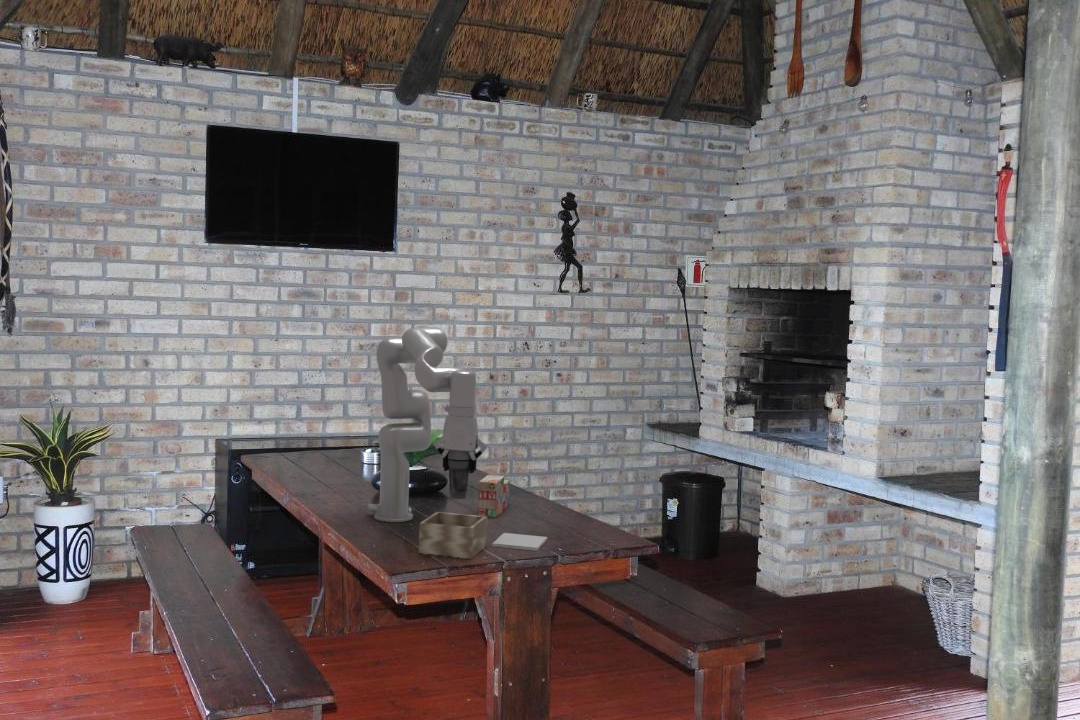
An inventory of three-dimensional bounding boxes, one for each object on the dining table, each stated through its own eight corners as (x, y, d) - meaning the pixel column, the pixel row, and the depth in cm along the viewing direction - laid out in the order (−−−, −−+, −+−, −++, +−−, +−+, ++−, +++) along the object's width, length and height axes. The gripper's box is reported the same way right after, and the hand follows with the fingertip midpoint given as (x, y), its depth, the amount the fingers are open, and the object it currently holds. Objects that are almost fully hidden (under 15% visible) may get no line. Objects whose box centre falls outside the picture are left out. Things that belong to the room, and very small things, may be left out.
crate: (418, 553, 316) (419, 523, 315) (435, 540, 331) (436, 511, 331) (471, 558, 312) (472, 528, 312) (485, 545, 328) (487, 516, 327)
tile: (492, 546, 328) (492, 543, 327) (503, 535, 341) (503, 532, 341) (537, 551, 325) (537, 547, 324) (547, 540, 338) (547, 537, 338)
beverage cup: (445, 494, 325) (448, 428, 323) (470, 494, 325) (472, 429, 323) (445, 499, 317) (448, 432, 316) (470, 500, 318) (473, 432, 316)
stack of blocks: (492, 504, 388) (493, 470, 387) (509, 505, 387) (510, 471, 386) (477, 516, 367) (478, 480, 366) (495, 518, 366) (497, 482, 365)
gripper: (429, 411, 317) (427, 471, 319) (486, 415, 314) (483, 476, 315) (437, 408, 325) (435, 466, 326) (493, 412, 321) (490, 471, 322)
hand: (459, 471), depth 321 cm, fingers closed on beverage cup, 7 cm apart
